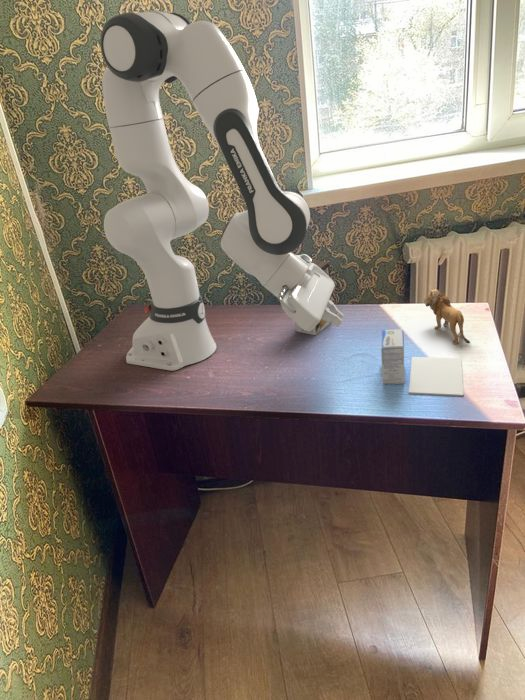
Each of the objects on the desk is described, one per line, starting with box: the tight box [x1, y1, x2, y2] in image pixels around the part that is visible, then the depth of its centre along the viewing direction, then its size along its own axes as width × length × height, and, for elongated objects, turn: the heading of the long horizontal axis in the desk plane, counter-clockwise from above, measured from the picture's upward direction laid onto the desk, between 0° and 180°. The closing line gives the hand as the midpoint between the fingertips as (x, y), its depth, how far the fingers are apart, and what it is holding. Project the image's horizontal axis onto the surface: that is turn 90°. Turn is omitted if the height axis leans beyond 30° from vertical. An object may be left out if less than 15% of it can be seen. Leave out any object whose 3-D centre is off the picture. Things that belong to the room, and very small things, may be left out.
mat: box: [408, 356, 464, 397], centre depth 109 cm, size 10×14×1 cm
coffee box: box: [294, 259, 333, 336], centre depth 133 cm, size 9×6×16 cm
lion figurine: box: [422, 289, 471, 345], centre depth 123 cm, size 15×5×9 cm, turn 21°
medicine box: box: [380, 328, 405, 385], centre depth 110 cm, size 8×4×9 cm, turn 168°
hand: (340, 321), depth 109 cm, fingers closed
